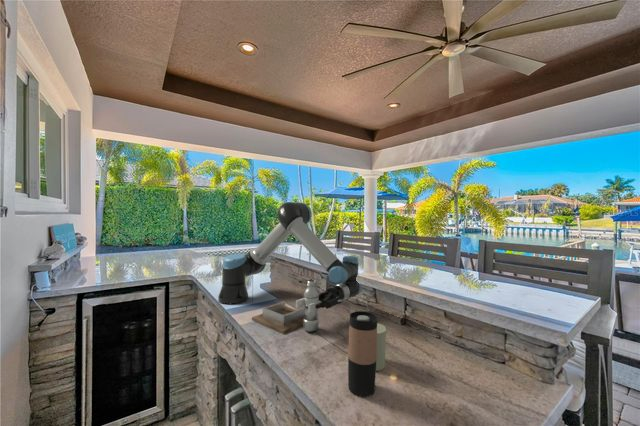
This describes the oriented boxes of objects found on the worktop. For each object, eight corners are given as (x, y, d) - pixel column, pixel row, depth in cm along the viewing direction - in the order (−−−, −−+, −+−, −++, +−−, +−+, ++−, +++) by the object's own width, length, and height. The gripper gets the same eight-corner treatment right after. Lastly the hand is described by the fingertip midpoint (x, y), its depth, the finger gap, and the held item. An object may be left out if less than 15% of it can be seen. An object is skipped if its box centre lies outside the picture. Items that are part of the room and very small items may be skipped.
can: (383, 356, 93) (384, 321, 93) (387, 372, 84) (388, 333, 84) (355, 354, 94) (356, 319, 94) (356, 370, 85) (357, 331, 85)
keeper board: (285, 308, 136) (285, 305, 136) (316, 319, 123) (316, 316, 123) (251, 320, 121) (251, 317, 121) (283, 334, 108) (283, 331, 108)
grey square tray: (283, 309, 131) (284, 301, 131) (304, 317, 122) (305, 308, 122) (262, 317, 121) (262, 308, 121) (283, 326, 113) (283, 316, 112)
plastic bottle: (320, 328, 114) (322, 279, 114) (315, 335, 108) (316, 283, 108) (306, 325, 116) (307, 278, 116) (300, 332, 110) (301, 281, 110)
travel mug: (345, 380, 80) (347, 310, 79) (371, 379, 80) (373, 310, 80) (350, 398, 72) (352, 321, 72) (379, 397, 73) (381, 321, 72)
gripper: (355, 306, 120) (321, 322, 102) (321, 297, 132) (285, 309, 114) (355, 289, 120) (321, 302, 102) (321, 281, 132) (286, 291, 114)
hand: (302, 306), depth 108 cm, fingers closed on plastic bottle, 6 cm apart
